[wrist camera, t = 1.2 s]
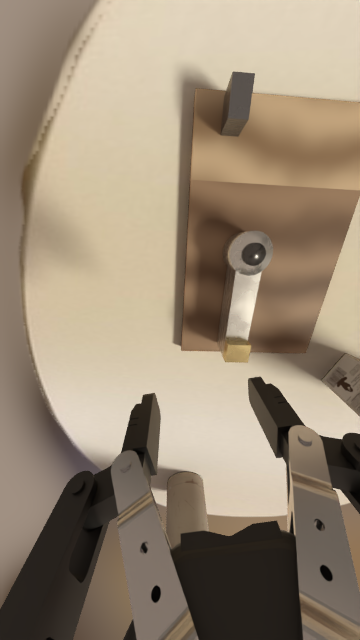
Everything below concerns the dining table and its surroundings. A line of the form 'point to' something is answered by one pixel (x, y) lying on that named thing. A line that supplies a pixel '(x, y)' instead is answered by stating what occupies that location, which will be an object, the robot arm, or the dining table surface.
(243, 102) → the block
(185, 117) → the dining table surface
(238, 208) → the door board
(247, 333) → the latch bar
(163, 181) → the dining table surface
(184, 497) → the thermos bottle
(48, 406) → the dining table surface
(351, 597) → the robot arm
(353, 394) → the coffee box
